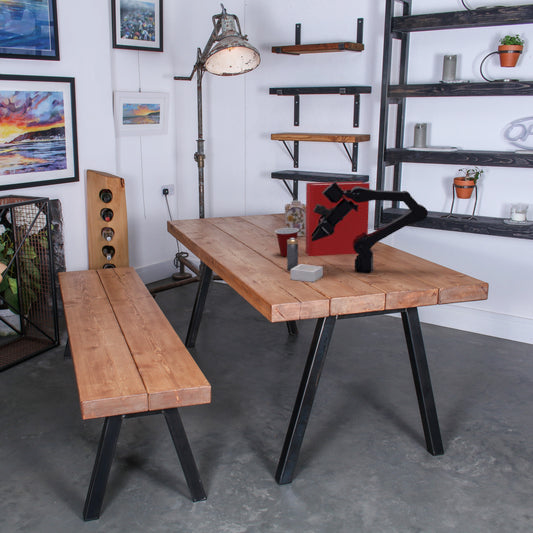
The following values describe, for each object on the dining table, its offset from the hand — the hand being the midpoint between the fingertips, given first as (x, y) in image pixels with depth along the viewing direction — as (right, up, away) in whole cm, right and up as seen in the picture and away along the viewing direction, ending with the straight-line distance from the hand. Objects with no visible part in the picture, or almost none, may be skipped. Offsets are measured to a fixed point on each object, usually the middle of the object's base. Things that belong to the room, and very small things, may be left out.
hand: (311, 238), depth 248 cm
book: (+14, -5, +35) cm, 38 cm away
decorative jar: (-3, +5, +77) cm, 77 cm away
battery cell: (-8, -13, +4) cm, 15 cm away
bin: (-3, -16, -8) cm, 18 cm away
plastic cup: (-9, -7, +29) cm, 31 cm away
